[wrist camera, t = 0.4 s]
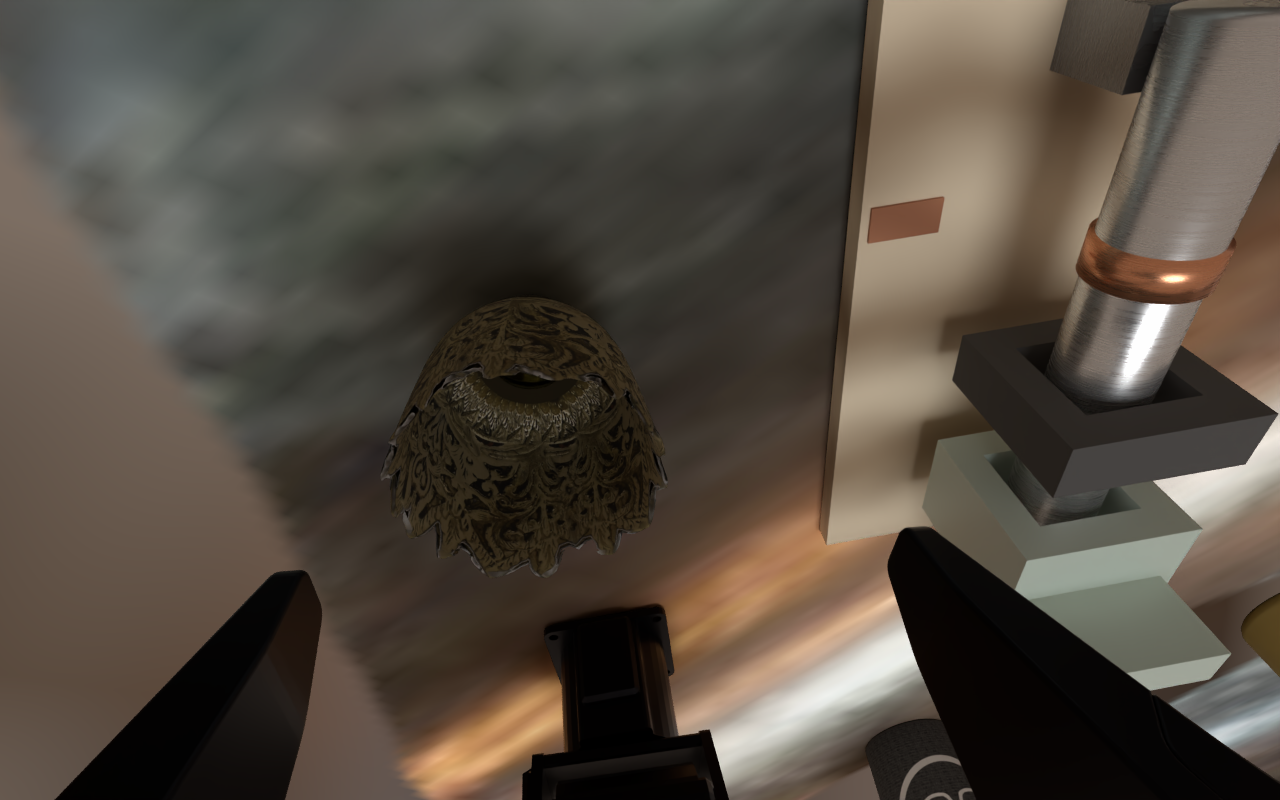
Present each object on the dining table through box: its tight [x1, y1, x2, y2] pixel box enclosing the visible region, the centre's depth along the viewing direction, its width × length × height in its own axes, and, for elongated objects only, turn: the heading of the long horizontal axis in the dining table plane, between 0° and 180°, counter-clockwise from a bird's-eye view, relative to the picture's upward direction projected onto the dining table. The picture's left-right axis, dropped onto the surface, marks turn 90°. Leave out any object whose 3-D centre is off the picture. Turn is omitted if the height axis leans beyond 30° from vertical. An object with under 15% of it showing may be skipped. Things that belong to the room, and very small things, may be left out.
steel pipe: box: [1007, 0, 1280, 526], centre depth 22 cm, size 22×3×6 cm, turn 6°
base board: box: [820, 0, 1141, 545], centre depth 25 cm, size 23×13×1 cm, turn 6°
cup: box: [381, 295, 668, 578], centre depth 20 cm, size 8×7×8 cm
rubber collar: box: [952, 318, 1278, 498], centre depth 21 cm, size 2×6×6 cm, turn 96°
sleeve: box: [922, 430, 1231, 690], centre depth 24 cm, size 4×6×9 cm, turn 96°
